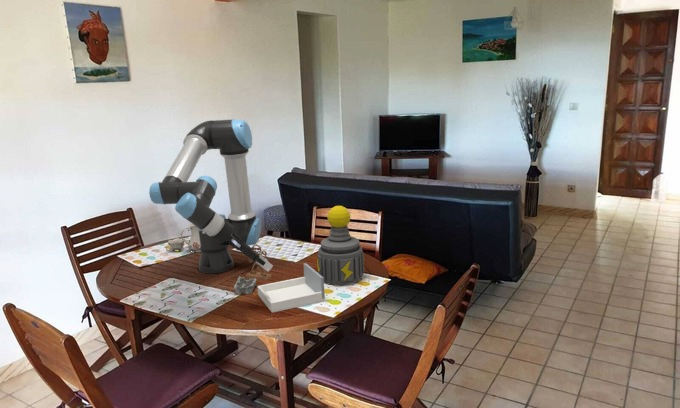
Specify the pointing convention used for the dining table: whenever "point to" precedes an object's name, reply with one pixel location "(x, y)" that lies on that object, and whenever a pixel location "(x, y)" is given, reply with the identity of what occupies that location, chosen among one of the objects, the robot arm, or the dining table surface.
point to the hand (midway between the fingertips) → (267, 265)
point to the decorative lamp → (340, 251)
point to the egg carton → (244, 285)
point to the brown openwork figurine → (255, 274)
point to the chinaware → (192, 243)
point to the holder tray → (293, 291)
